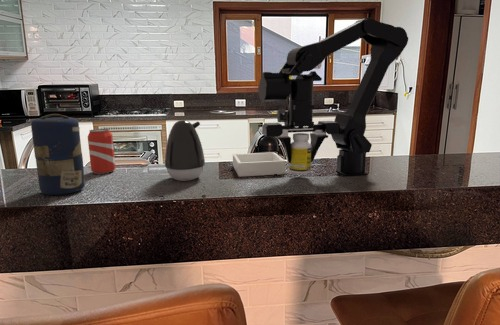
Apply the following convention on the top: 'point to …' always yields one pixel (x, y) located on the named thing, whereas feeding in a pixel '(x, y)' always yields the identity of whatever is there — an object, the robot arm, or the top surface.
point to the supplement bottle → (300, 154)
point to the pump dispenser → (184, 152)
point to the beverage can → (101, 151)
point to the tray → (258, 164)
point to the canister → (58, 154)
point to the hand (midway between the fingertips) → (300, 162)
